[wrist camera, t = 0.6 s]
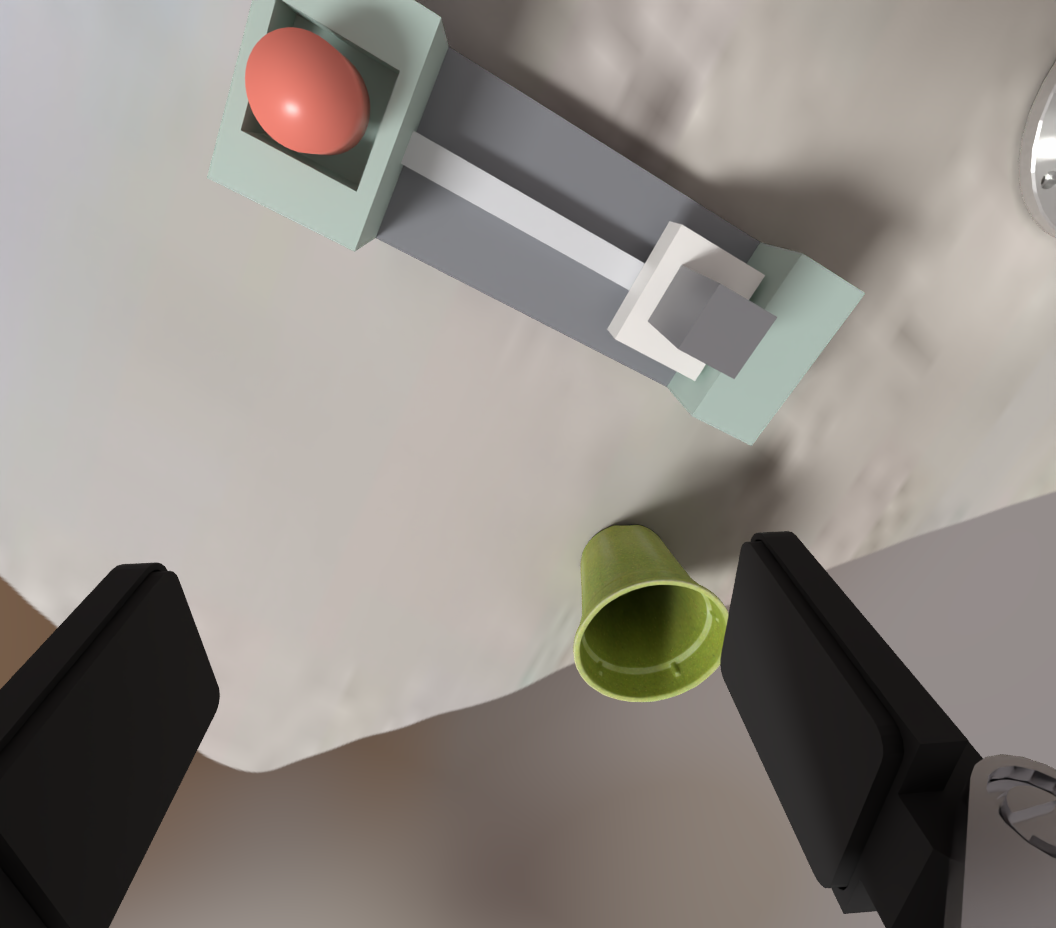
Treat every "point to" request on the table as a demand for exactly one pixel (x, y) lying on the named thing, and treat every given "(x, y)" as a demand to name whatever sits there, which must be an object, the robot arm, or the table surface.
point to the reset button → (306, 93)
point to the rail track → (511, 202)
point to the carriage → (693, 307)
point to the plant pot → (644, 619)
